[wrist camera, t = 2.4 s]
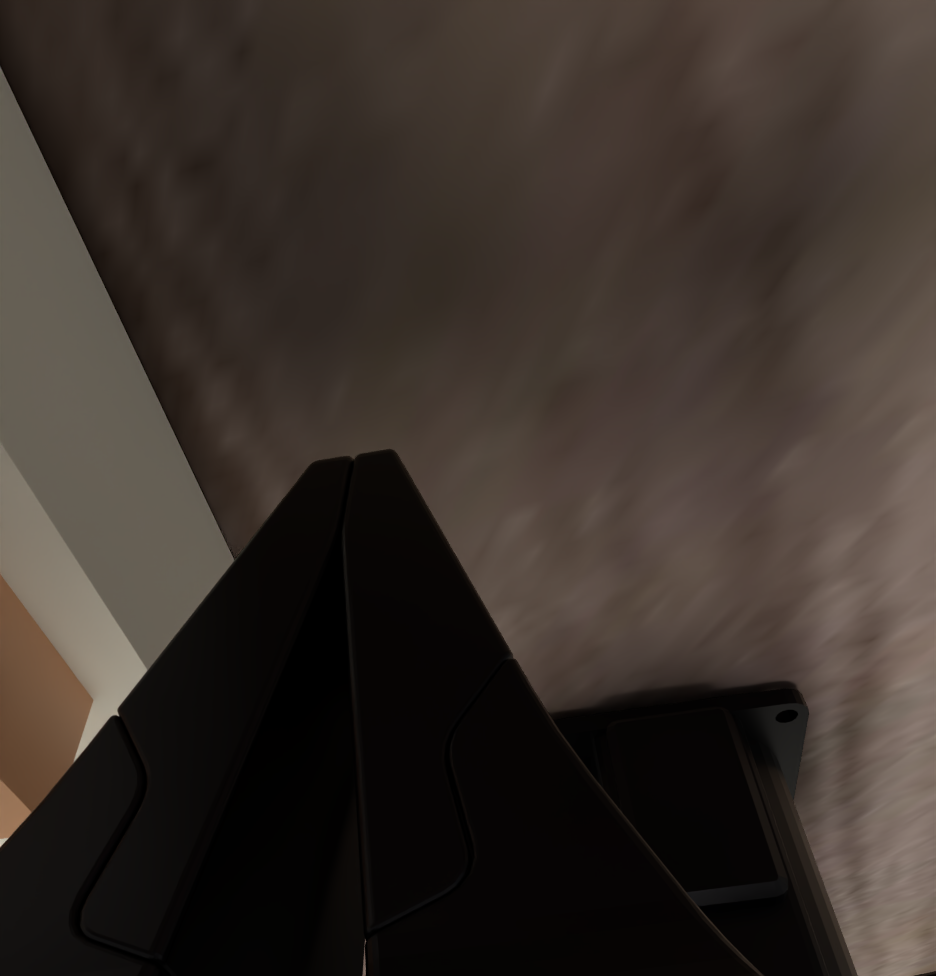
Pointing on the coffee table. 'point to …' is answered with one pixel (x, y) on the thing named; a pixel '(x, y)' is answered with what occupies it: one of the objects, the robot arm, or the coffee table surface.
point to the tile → (33, 713)
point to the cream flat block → (86, 452)
